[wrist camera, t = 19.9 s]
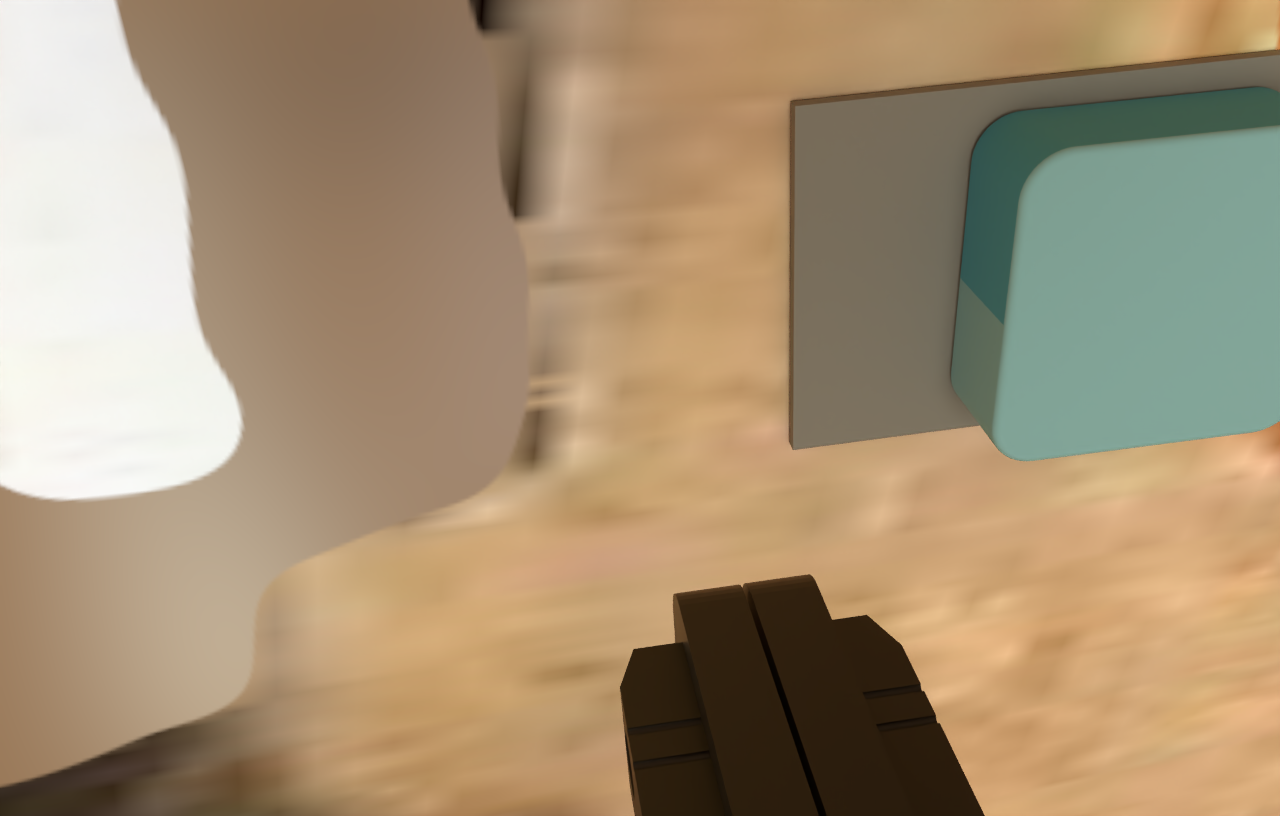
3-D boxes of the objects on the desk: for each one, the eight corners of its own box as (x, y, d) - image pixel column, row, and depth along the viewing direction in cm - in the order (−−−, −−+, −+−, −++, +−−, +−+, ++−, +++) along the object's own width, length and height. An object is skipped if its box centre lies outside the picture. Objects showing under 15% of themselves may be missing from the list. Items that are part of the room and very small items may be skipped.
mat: (790, 101, 39) (795, 106, 39) (1335, 43, 41) (1346, 47, 41) (789, 442, 47) (793, 449, 46) (1252, 381, 48) (1261, 388, 48)
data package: (945, 407, 46) (1226, 372, 47) (989, 469, 42) (1295, 429, 43) (973, 113, 40) (1296, 80, 41) (1028, 154, 36) (1383, 117, 37)
